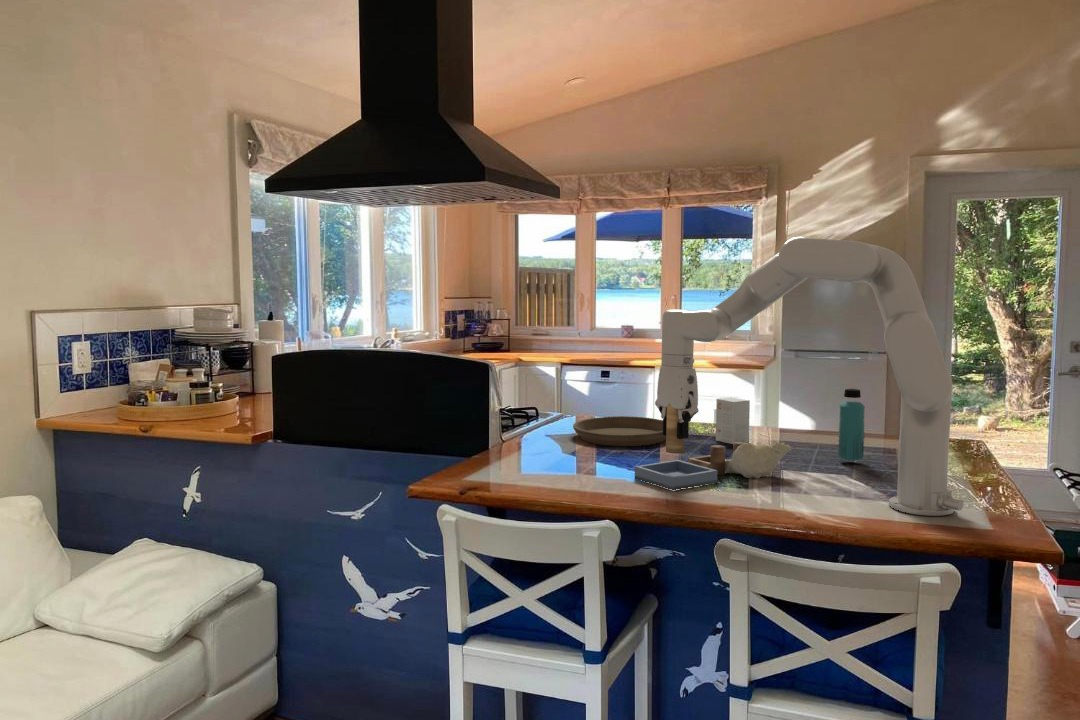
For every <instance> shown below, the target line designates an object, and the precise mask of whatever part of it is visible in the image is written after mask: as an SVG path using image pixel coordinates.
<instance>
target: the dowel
mask: <svg viewBox="0 0 1080 720" xmlns="http://www.w3.org/2000/svg"><path fill="white" fill-rule="evenodd" d="M684 414H685V411H684V412H683V415H684ZM677 422H679V416H678V409H674V408H672V406H671V404H670V403H669V404H668V406H667V426H666V439H665V452H666V453H669V454H684V453H685V445H686V444H685V440H686V438H685V439H677Z"/></svg>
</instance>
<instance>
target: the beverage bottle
mask: <svg viewBox="0 0 1080 720" xmlns="http://www.w3.org/2000/svg"><path fill="white" fill-rule="evenodd" d="M843 397H844V398H849V399H850V398H852V399H859V398H860V399H861V397H862V396H861V390H860V389H858V388H846V389H845V388H844V394H843ZM865 435H866V434H865V405H864V403H862V402H861V401H859V400H858V401H857V400H856V401H855V400H844V401H842V402H841V403H840V405H839V424H838V443H837V444H838V445H837V446H838V447H837V448H838V451H837V453H838V454H837V455H838V458H839V459H844V460H848V461H849V460H850V461H860V460H861V461H862V460H863V459H864V454H865Z"/></svg>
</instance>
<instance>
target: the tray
mask: <svg viewBox="0 0 1080 720" xmlns="http://www.w3.org/2000/svg"><path fill="white" fill-rule="evenodd" d="M717 473H718V470H714V469H710V468H707V467H703V466H699V465H695V464H692V463H688V462H687V461H683V460H680V459H674V460H673V459H672V460H667V461H661V462H655V463H647V464H640V465H635V466H634V480H635V479H638V480H637V481H639V480H642V481H645V482H649V483H652V484H656V485H659V486H662V487H665V488H668V489H672V490H676V489H681V488H688V487H694V486H700V485H705V484H712V483H717V484H718V476H717ZM642 481H641V482H642ZM645 482H644V483H645ZM712 485H713V484H712Z"/></svg>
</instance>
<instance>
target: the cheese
mask: <svg viewBox="0 0 1080 720" xmlns="http://www.w3.org/2000/svg"><path fill="white" fill-rule="evenodd" d="M773 443H774V444H772V445H771V444H770V445H766V444H765V445H759V444H757V445H756V444H754V443H750V442H749V443H744V444H742V445H740V446H738V447H737V449H736V450H735V451H734V453H733V452H732V456H731V458H730V459H728V458H727V460H726V461H725V473H727V474H735V475H742V476H743V477H744V478H747V479H751V478H755V479H756V478H759V479H760V478H761V477H763V478H766V477H768V476H771V475H772V473H773V472H774V471H775V468H776V466H777V465H778V462H779V461H781V460H782V459H783V458H784V457H785V455H786V454H788V453H789V452H790V451H792V446H791V445H789V444H786V443H785V442H782V443H780V442H777V441H776V440H773ZM765 476H766V477H765Z"/></svg>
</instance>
